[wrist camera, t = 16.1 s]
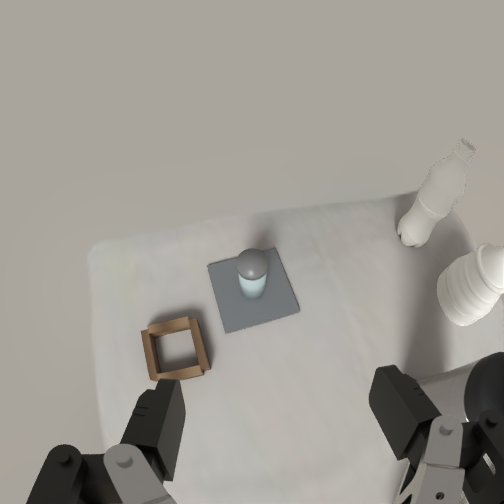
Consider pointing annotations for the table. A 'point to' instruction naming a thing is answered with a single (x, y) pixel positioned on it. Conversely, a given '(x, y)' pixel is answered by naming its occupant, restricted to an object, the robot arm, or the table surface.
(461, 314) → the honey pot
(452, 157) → the water bottle
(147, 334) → the walnut collar
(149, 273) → the table surface
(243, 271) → the grey-capped cylinder canister
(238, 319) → the slate pad
